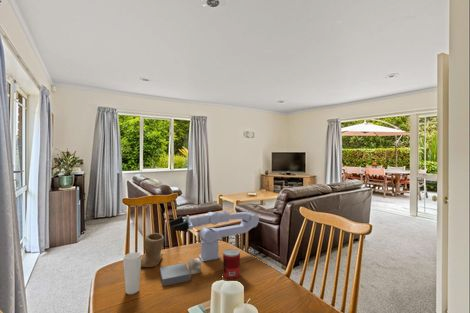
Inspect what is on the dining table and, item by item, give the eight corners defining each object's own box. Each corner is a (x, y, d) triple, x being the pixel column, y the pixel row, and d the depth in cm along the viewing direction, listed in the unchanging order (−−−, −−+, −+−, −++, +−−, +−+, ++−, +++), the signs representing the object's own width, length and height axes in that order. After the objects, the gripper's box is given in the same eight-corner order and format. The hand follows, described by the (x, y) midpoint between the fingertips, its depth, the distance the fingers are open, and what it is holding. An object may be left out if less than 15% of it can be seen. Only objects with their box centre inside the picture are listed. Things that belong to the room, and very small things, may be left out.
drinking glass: (130, 298, 95) (129, 260, 94) (120, 292, 98) (119, 256, 98) (144, 289, 100) (144, 254, 100) (134, 285, 104) (134, 250, 104)
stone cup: (160, 269, 119) (160, 239, 119) (136, 269, 118) (136, 239, 118) (168, 256, 134) (168, 229, 134) (147, 256, 134) (146, 229, 134)
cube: (198, 267, 120) (198, 258, 120) (201, 272, 115) (201, 262, 115) (188, 269, 118) (188, 259, 118) (190, 274, 113) (190, 264, 113)
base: (184, 268, 119) (184, 262, 119) (190, 280, 108) (190, 273, 108) (159, 273, 114) (159, 267, 114) (162, 286, 103) (162, 279, 103)
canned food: (243, 274, 113) (243, 251, 113) (231, 281, 107) (231, 256, 107) (231, 269, 118) (231, 247, 118) (219, 275, 112) (219, 252, 112)
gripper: (192, 210, 135) (168, 214, 129) (200, 217, 122) (174, 222, 116) (192, 222, 135) (168, 227, 129) (201, 231, 123) (174, 236, 116)
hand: (171, 226), depth 122 cm, fingers open, 7 cm apart
